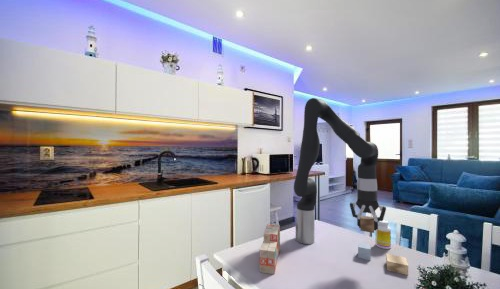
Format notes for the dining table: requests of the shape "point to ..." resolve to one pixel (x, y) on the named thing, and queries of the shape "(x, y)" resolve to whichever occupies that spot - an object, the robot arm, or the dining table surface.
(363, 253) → the slate cube
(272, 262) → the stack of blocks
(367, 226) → the walnut cube
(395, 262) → the oak base
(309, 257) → the dining table surface
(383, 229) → the supplement bottle
